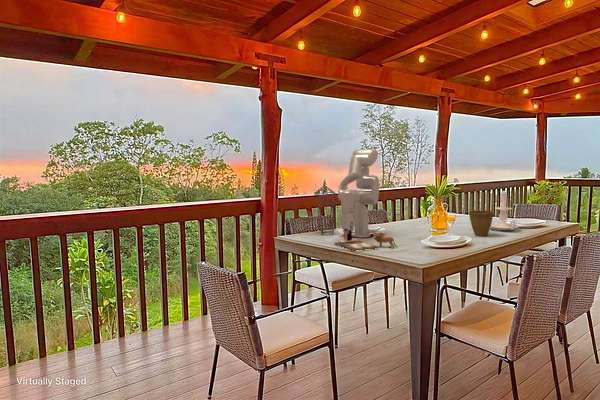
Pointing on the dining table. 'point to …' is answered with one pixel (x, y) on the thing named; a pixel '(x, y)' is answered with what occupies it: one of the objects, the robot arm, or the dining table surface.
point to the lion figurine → (383, 239)
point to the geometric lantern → (325, 205)
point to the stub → (346, 239)
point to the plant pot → (481, 222)
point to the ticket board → (356, 245)
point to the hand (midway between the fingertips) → (347, 239)
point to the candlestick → (504, 216)
